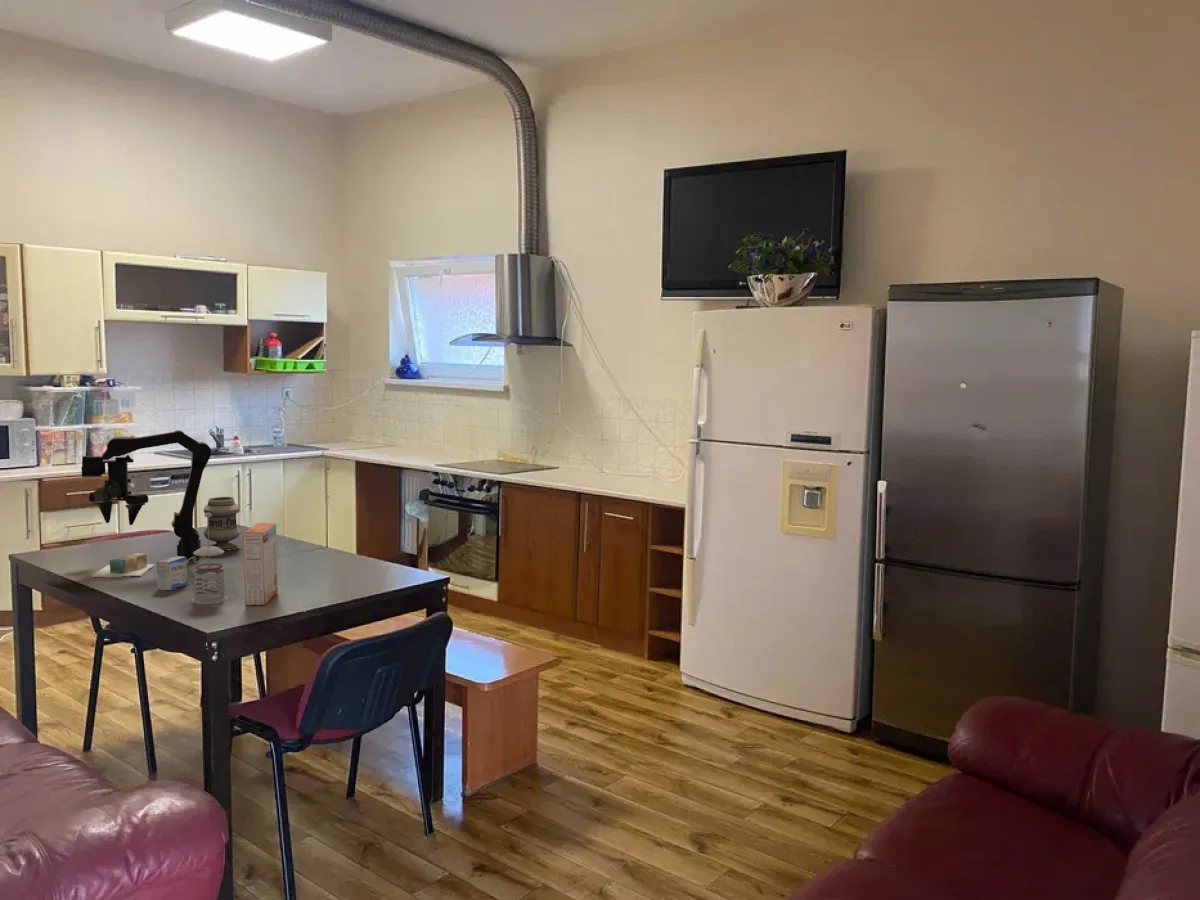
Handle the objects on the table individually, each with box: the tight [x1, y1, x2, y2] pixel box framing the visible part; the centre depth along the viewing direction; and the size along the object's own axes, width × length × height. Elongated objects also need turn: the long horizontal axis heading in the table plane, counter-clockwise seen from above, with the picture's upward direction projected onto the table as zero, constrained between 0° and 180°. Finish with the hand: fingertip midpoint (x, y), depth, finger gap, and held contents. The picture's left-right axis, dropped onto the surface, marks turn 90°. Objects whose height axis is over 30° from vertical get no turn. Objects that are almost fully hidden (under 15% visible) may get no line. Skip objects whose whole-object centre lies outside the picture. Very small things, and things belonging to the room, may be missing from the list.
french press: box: [184, 512, 229, 605], centre depth 264 cm, size 10×12×25 cm
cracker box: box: [242, 522, 279, 607], centre depth 266 cm, size 14×6×21 cm, turn 5°
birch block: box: [109, 552, 148, 574], centre depth 296 cm, size 4×4×11 cm
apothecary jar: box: [203, 496, 242, 550], centre depth 333 cm, size 12×12×18 cm
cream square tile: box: [91, 563, 156, 579], centre depth 296 cm, size 14×15×1 cm
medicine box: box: [156, 555, 188, 591], centre depth 278 cm, size 8×4×9 cm, turn 168°
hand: (119, 523), depth 306 cm, fingers open, 9 cm apart
